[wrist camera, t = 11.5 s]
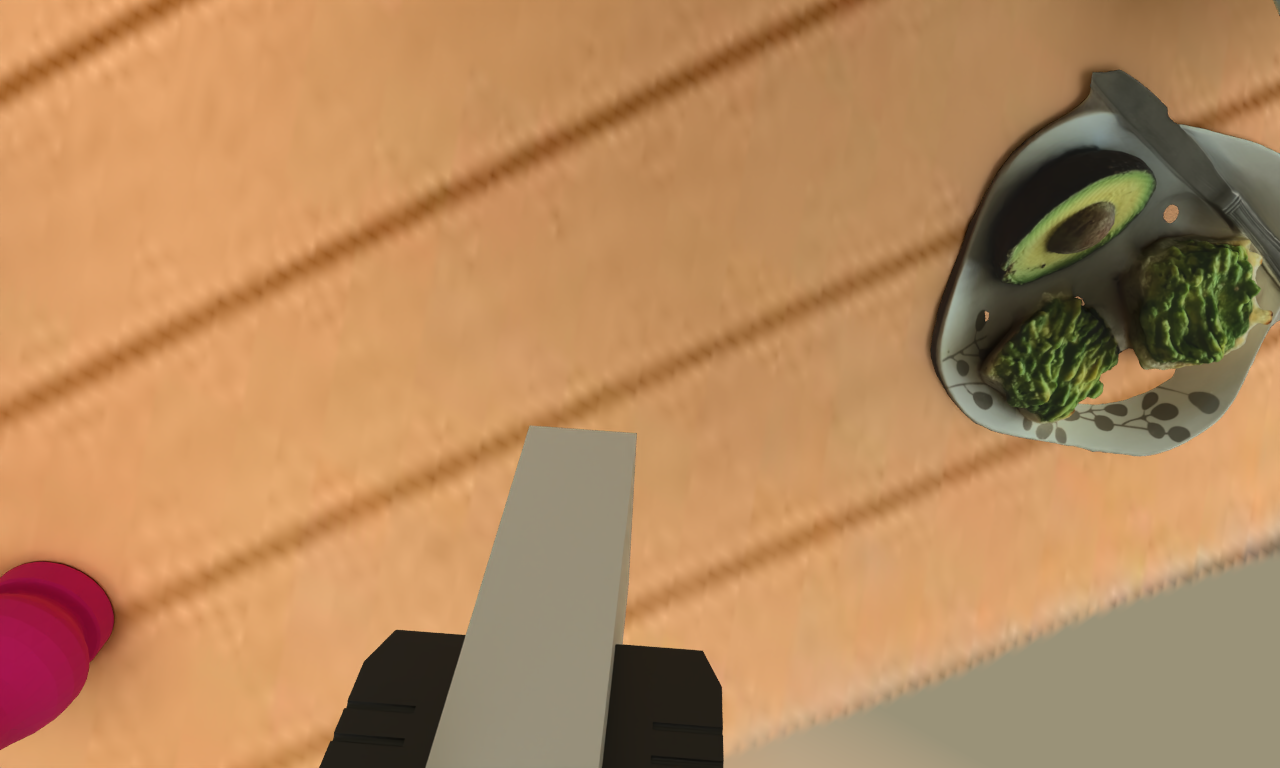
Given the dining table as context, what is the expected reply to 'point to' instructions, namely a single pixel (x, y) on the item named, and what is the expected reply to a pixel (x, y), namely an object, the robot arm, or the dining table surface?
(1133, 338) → the salad plate
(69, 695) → the pepper mill
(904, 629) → the dining table surface
